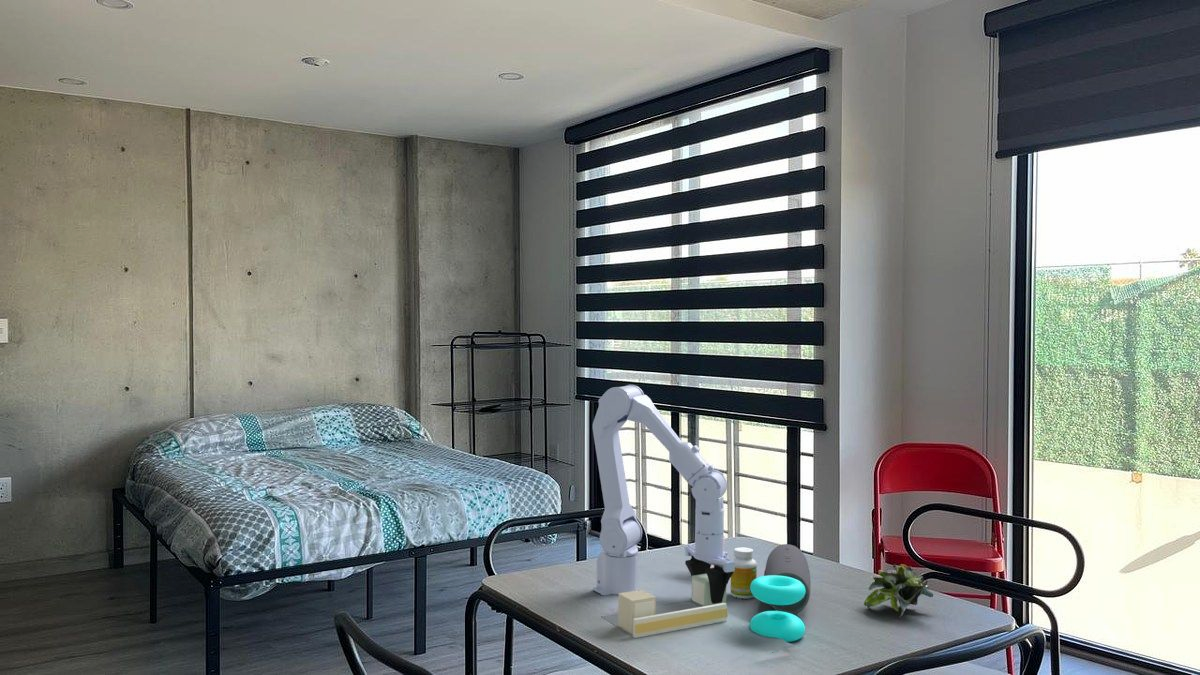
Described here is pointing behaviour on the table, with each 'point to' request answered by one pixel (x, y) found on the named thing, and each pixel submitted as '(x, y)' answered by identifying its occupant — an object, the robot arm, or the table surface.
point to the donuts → (778, 593)
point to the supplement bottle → (743, 573)
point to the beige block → (634, 607)
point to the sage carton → (703, 590)
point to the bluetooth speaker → (790, 572)
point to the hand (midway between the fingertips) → (708, 598)
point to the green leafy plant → (897, 588)
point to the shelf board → (674, 618)
